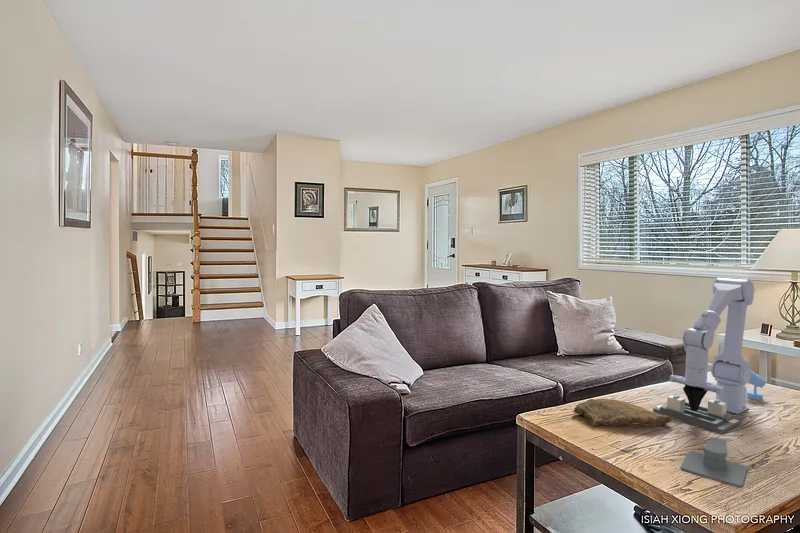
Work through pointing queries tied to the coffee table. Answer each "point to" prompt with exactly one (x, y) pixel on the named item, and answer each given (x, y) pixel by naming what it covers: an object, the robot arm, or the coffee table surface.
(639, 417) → the rock
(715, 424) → the switch bank
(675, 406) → the tab
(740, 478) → the shower valve
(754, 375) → the spotlight
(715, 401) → the tab
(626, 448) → the coffee table surface
